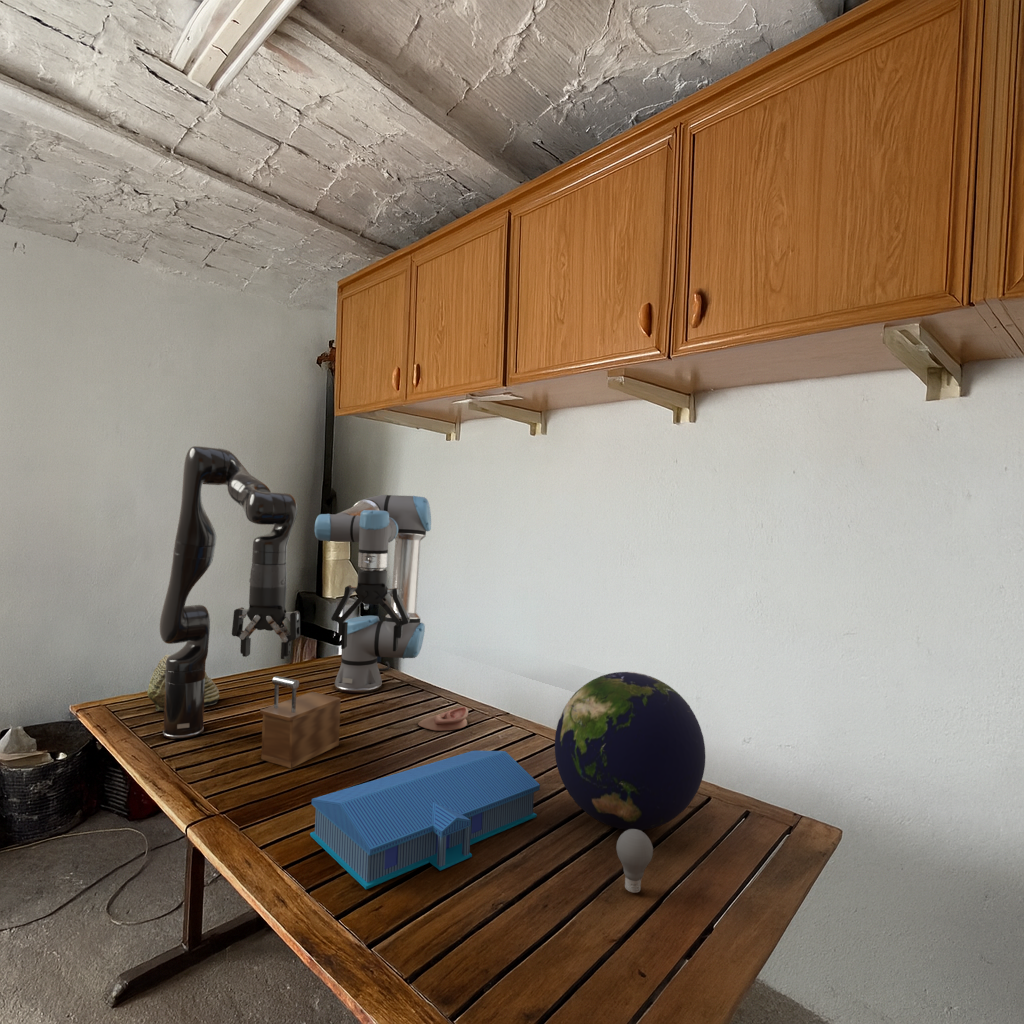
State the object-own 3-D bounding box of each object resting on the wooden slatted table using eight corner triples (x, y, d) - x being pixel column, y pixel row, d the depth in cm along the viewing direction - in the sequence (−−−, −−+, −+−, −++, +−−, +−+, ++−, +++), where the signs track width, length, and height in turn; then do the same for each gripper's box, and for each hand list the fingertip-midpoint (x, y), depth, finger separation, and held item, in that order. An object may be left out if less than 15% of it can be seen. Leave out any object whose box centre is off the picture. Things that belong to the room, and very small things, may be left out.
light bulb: (610, 879, 108) (613, 822, 108) (644, 879, 109) (647, 822, 109) (619, 902, 102) (622, 840, 102) (655, 901, 103) (658, 840, 103)
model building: (376, 899, 100) (378, 836, 100) (308, 834, 119) (310, 781, 118) (548, 822, 127) (550, 773, 127) (472, 779, 145) (474, 735, 145)
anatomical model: (414, 713, 175) (428, 701, 186) (414, 728, 175) (427, 714, 186) (460, 719, 172) (471, 706, 184) (460, 733, 172) (471, 719, 184)
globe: (530, 838, 120) (537, 682, 120) (575, 777, 148) (580, 650, 148) (692, 880, 109) (701, 707, 109) (708, 805, 137) (715, 668, 136)
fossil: (144, 707, 182) (145, 655, 182) (212, 696, 194) (213, 647, 194) (151, 716, 175) (153, 662, 175) (221, 703, 188) (223, 653, 188)
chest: (291, 768, 147) (292, 720, 147) (261, 759, 151) (262, 712, 151) (339, 745, 162) (340, 701, 161) (310, 737, 166) (312, 695, 166)
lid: (290, 721, 146) (291, 684, 146) (259, 713, 150) (261, 677, 150) (340, 701, 161) (341, 668, 161) (312, 694, 166) (313, 662, 165)
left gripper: (306, 583, 142) (303, 655, 142) (244, 579, 143) (241, 650, 143) (293, 588, 134) (290, 663, 135) (228, 583, 135) (224, 659, 135)
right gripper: (321, 568, 163) (318, 650, 164) (417, 572, 163) (414, 654, 163) (329, 565, 171) (327, 643, 171) (422, 569, 170) (418, 647, 171)
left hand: (265, 657), depth 139 cm, fingers open, 8 cm apart
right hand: (369, 649), depth 167 cm, fingers open, 13 cm apart
